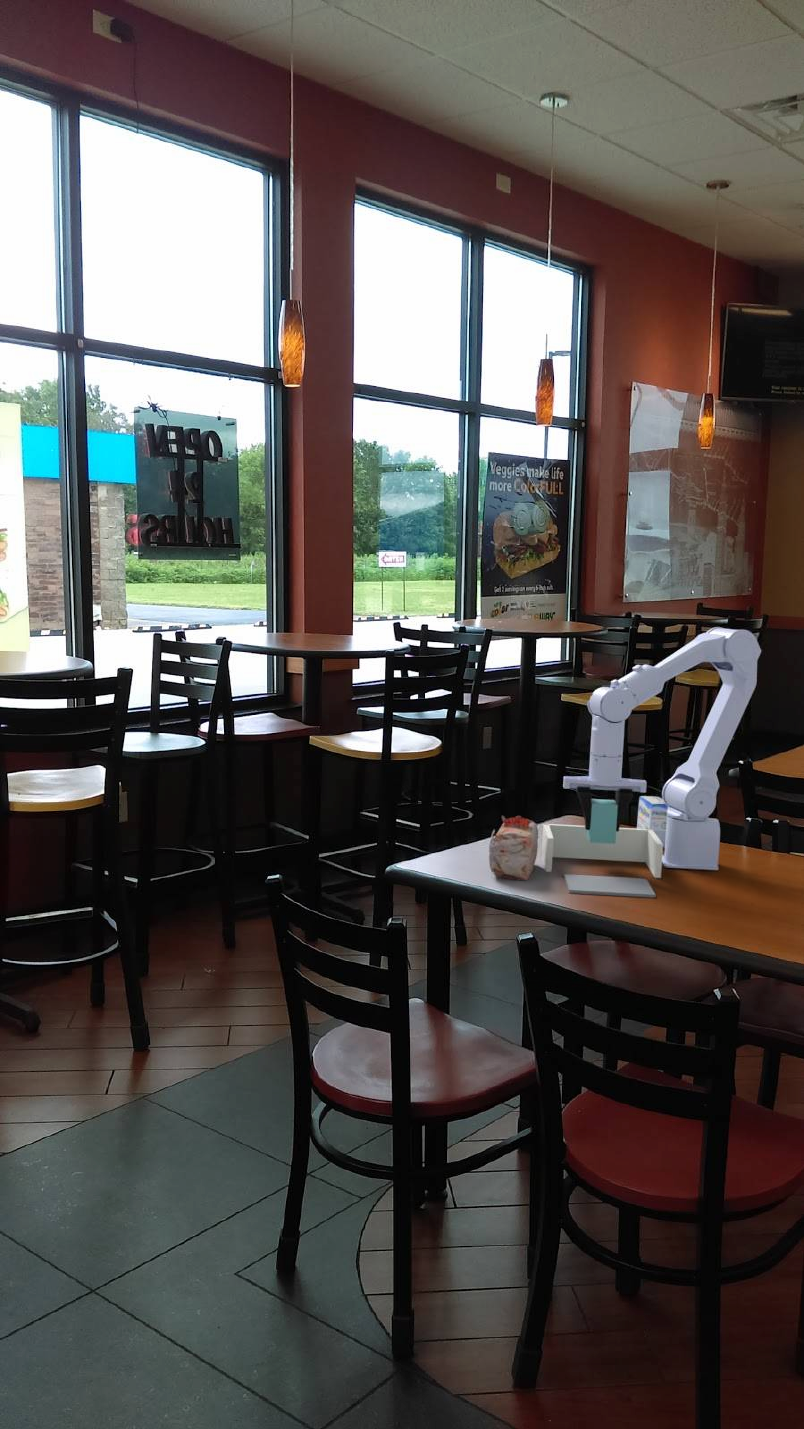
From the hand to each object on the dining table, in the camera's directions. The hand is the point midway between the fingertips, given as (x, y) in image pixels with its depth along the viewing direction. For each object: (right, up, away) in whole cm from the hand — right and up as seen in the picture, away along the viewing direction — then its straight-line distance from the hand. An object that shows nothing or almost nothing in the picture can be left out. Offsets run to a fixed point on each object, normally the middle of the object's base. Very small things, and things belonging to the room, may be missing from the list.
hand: (601, 829), depth 203 cm
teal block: (0, -2, 0) cm, 2 cm away
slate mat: (-1, -8, -13) cm, 16 cm away
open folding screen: (0, -7, +1) cm, 7 cm away
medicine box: (+14, -5, +22) cm, 26 cm away
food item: (-17, -7, -5) cm, 19 cm away
